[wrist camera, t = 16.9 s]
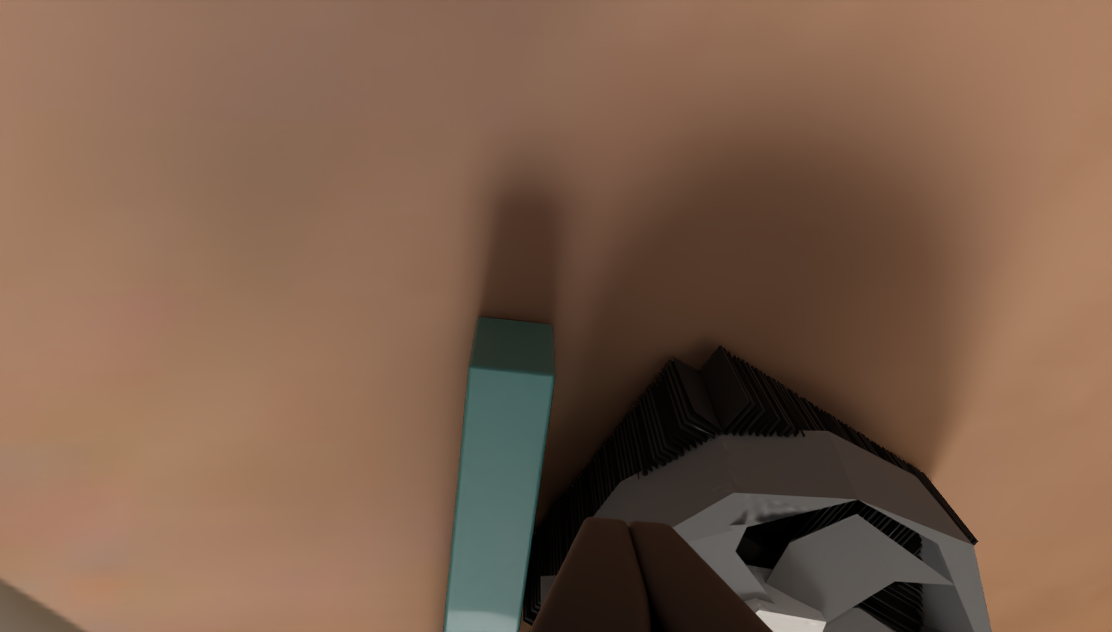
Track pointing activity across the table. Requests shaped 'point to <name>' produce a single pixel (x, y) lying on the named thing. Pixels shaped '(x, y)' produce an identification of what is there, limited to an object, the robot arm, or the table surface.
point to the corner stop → (499, 473)
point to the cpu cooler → (776, 508)
